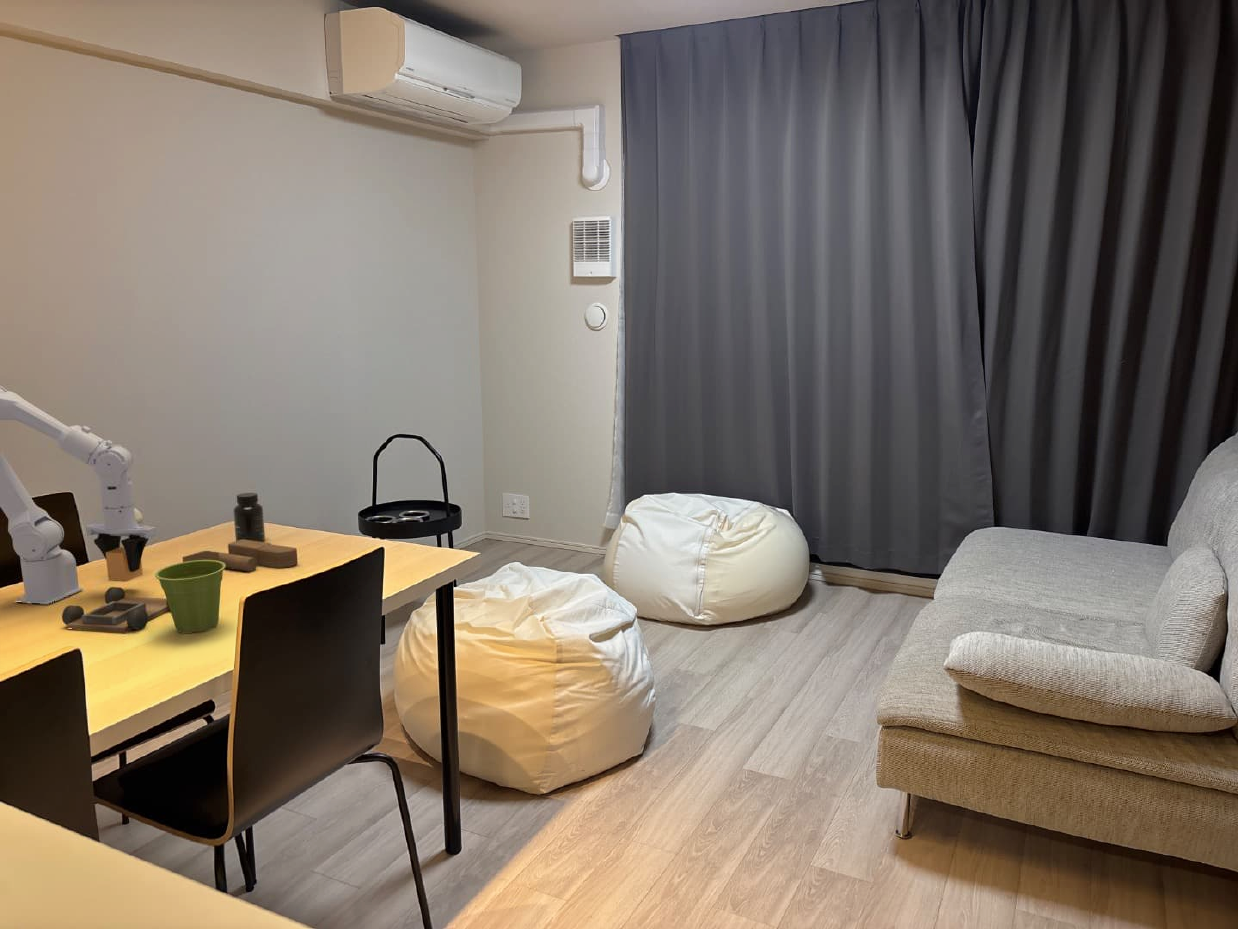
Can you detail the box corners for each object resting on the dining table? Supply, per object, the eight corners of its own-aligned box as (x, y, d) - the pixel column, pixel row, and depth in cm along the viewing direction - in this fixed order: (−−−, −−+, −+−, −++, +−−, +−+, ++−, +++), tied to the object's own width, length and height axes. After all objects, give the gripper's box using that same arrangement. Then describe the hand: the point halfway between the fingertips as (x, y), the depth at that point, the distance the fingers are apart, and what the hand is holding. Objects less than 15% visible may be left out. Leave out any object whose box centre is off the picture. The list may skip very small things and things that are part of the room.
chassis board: (121, 600, 187) (119, 583, 186) (188, 604, 184) (186, 587, 183) (60, 629, 171) (57, 610, 171) (133, 633, 168) (130, 615, 168)
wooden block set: (239, 534, 217) (298, 542, 209) (241, 557, 218) (299, 566, 210) (178, 552, 202) (239, 562, 194) (180, 577, 203) (241, 588, 195)
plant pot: (180, 616, 178) (175, 559, 175) (241, 616, 177) (236, 559, 175) (148, 639, 166) (141, 579, 164) (213, 639, 166) (207, 579, 163)
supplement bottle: (230, 544, 227) (225, 497, 225) (245, 537, 234) (241, 491, 232) (256, 545, 226) (251, 497, 224) (270, 538, 233) (267, 491, 230)
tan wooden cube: (125, 573, 194) (122, 546, 193) (142, 574, 193) (139, 546, 192) (108, 580, 189) (105, 552, 188) (125, 581, 189) (122, 553, 187)
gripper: (162, 502, 191) (168, 566, 194) (101, 500, 194) (107, 562, 196) (139, 510, 184) (146, 576, 187) (75, 507, 187) (83, 572, 189)
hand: (124, 569), depth 191 cm, fingers closed on tan wooden cube, 4 cm apart
